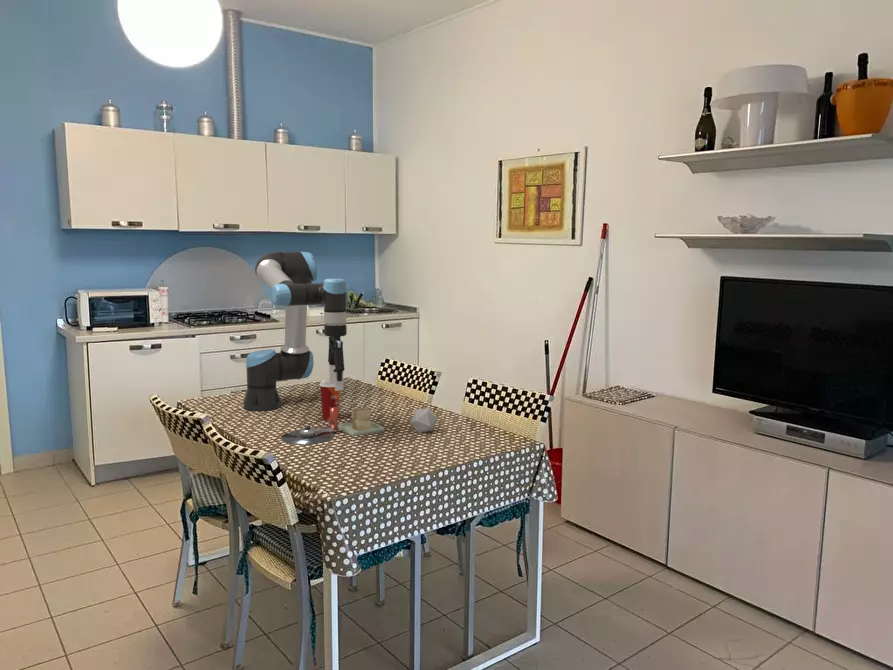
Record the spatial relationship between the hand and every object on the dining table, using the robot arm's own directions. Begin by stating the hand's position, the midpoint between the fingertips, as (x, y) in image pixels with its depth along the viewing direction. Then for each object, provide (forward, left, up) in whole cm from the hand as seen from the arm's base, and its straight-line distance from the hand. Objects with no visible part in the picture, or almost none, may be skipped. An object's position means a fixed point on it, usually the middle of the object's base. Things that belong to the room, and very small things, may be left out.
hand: (336, 386), depth 233 cm
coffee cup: (-25, +9, -18) cm, 32 cm away
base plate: (-6, -8, -18) cm, 21 cm away
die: (+8, +31, -18) cm, 37 cm away
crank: (-6, -4, -17) cm, 19 cm away
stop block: (-5, +12, -18) cm, 22 cm away
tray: (-5, +12, -18) cm, 22 cm away
